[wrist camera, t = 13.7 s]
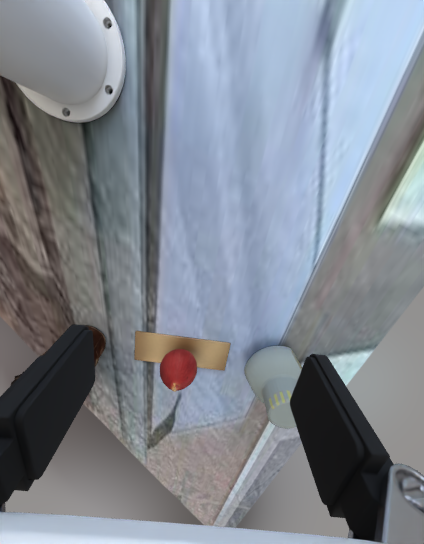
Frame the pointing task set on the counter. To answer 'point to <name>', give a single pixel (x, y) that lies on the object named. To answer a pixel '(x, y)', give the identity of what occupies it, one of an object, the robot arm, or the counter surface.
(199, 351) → the row strip
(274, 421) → the air freshener
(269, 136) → the counter surface
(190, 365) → the onion
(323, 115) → the counter surface
